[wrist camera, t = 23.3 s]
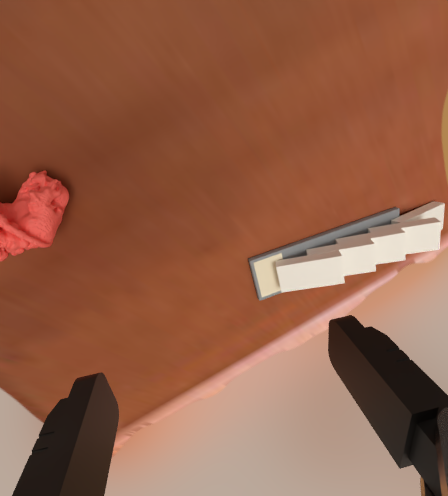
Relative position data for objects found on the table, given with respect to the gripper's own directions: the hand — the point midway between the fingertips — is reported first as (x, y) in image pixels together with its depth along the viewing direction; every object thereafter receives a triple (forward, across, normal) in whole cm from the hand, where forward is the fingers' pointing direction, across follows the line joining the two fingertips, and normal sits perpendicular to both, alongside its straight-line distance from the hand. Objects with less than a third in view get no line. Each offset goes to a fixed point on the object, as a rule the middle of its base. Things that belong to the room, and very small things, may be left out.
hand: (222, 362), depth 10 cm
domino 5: (+32, -29, +15) cm, 46 cm away
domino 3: (+32, -23, +16) cm, 42 cm away
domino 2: (+31, -17, +16) cm, 39 cm away
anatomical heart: (+31, +20, -1) cm, 37 cm away
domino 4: (+32, -34, +15) cm, 49 cm away
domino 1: (+31, -12, +17) cm, 37 cm away
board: (+34, -22, +16) cm, 43 cm away
